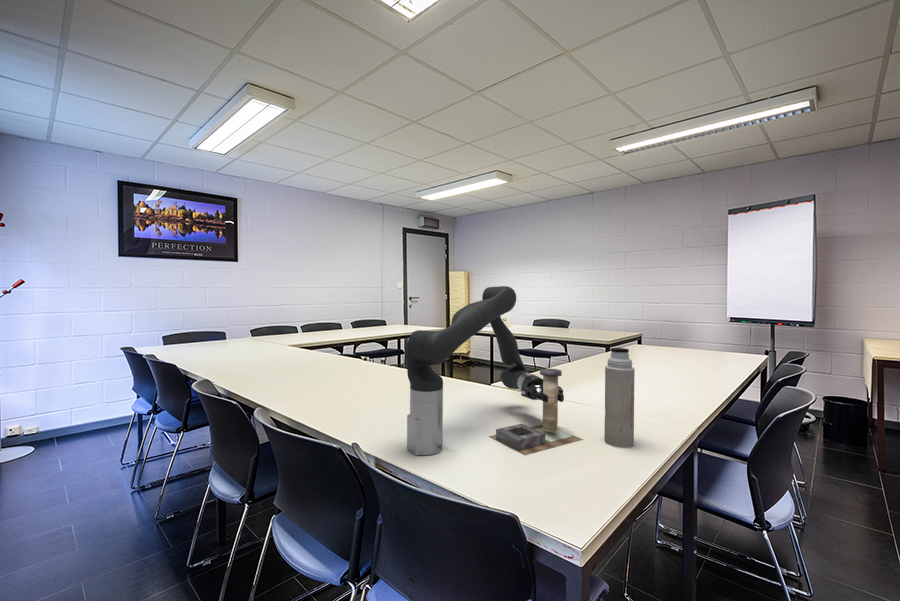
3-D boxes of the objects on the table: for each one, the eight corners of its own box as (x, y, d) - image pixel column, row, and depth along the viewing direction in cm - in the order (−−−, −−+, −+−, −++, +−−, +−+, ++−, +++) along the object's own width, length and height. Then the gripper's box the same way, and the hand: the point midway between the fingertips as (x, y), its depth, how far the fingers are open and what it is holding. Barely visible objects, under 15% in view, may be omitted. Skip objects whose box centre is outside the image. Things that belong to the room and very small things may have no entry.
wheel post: (550, 434, 114) (550, 373, 113) (534, 427, 119) (535, 369, 119) (565, 430, 117) (566, 371, 117) (549, 424, 122) (550, 367, 122)
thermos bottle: (636, 441, 115) (637, 348, 115) (630, 449, 109) (631, 350, 109) (608, 435, 120) (609, 345, 120) (601, 443, 114) (602, 348, 114)
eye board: (524, 459, 102) (524, 444, 102) (488, 439, 116) (488, 426, 116) (583, 442, 114) (583, 429, 114) (544, 427, 128) (544, 415, 128)
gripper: (512, 375, 130) (532, 387, 114) (551, 374, 133) (576, 385, 116) (511, 397, 131) (532, 412, 114) (550, 395, 133) (576, 410, 117)
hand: (554, 398), depth 115 cm, fingers closed on wheel post, 4 cm apart
